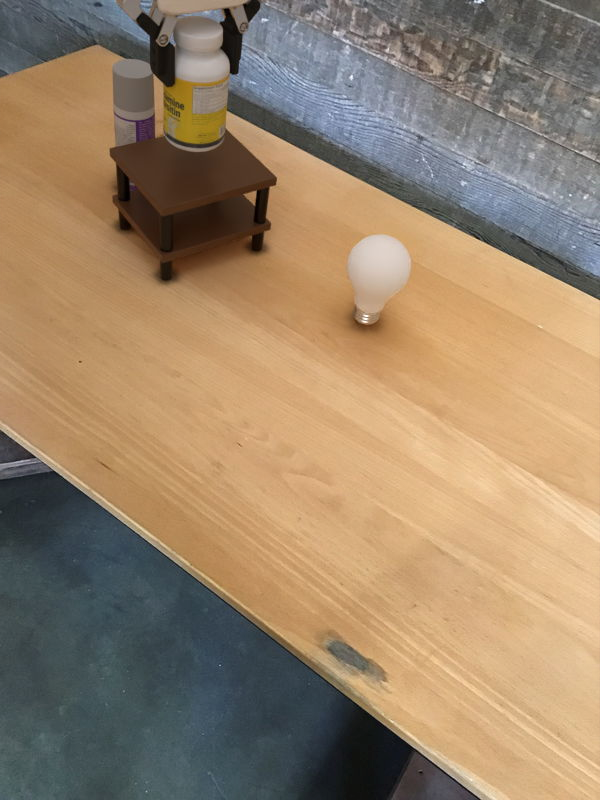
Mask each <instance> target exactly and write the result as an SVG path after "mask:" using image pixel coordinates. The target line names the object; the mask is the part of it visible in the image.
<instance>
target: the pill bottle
mask: <svg viewBox="0 0 600 800" xmlns="http://www.w3.org/2000/svg"><path fill="white" fill-rule="evenodd" d="M172 39H173V42H174V44H173V45H174V47H175V84H174V85H173V87H166V86H165V85H164V84H163V83H162V85H163V91H162V92H163V98H162V100H163V102H162V104H163V105H162V106H163V107H162V108H163V109H162V110H163V111H162V115H163V116H162V130H163V136H165V137H166V139H167V140H168V141H169V142H170V143H171V144H172V145H173V146H175V147H177V148H179V149H182V150H185V151H191V152H205V151H209V150H212V149H215V148H216V147H218V146H219V145H220V144H221V143H222V142H223V140H224V137H225V128H226V126H227V114H228V113H227V111H228V100H229V99H228V98H229V86H230V76H231V74H230V63H229V59H228V57H227V55H226V54H225V53H224V52H223V51H222V50H221V49H220V47H221V46H222V42H223V28H222V26H221V25H220V22H218V21H217V20H214V19H212V18H209V17H206V16H202V15H201V16H200V15H185V16H180V17H178V20H177V23H176V25H175V28H174V30H173V33H172ZM226 129H227V128H226Z"/></svg>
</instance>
